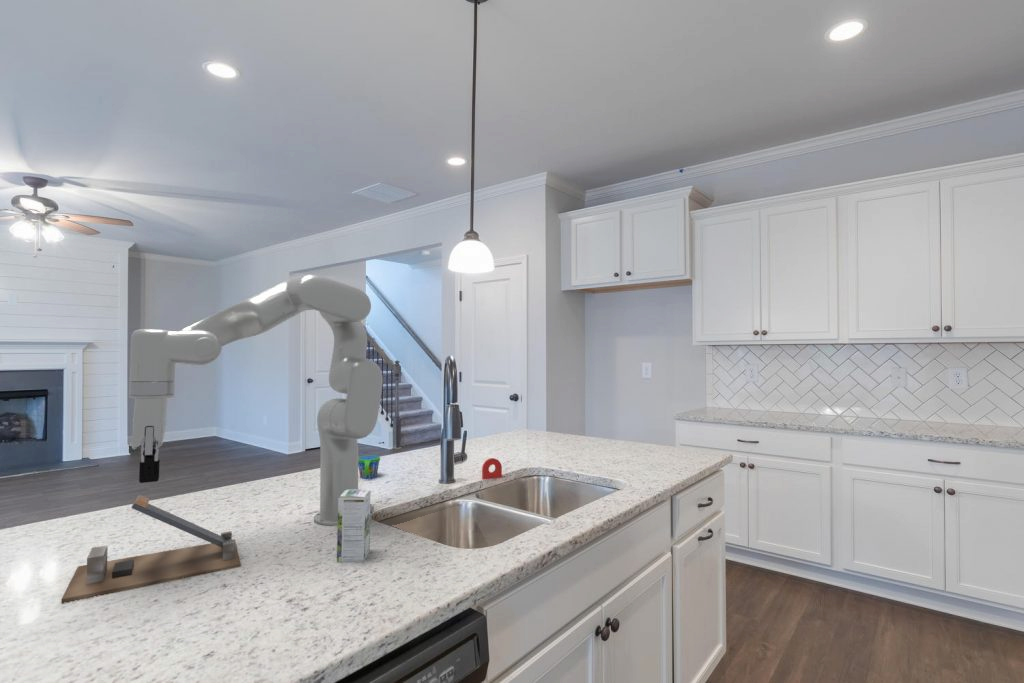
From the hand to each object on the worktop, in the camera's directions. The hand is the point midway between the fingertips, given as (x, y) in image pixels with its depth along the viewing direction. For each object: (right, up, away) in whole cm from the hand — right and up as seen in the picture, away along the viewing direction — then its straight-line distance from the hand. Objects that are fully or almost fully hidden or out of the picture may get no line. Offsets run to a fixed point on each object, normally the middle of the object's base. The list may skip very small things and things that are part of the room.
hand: (149, 481), depth 104 cm
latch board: (+2, -19, +1) cm, 19 cm away
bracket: (+69, -20, +71) cm, 101 cm away
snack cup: (+23, -20, +75) cm, 81 cm away
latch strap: (+5, -11, +3) cm, 12 cm away
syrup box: (+39, -19, +6) cm, 44 cm away
